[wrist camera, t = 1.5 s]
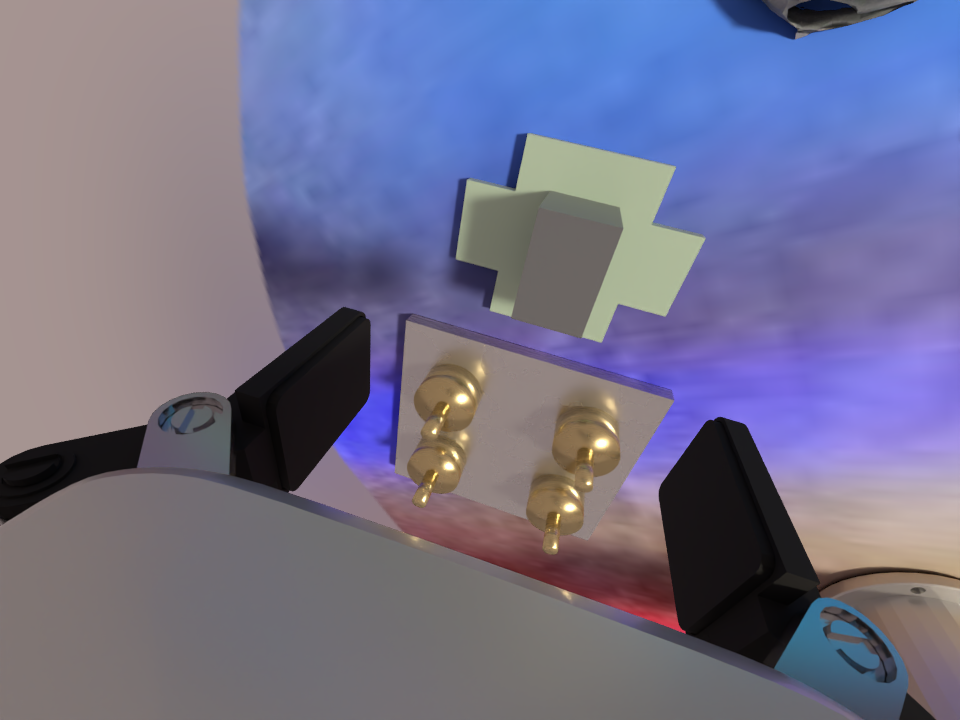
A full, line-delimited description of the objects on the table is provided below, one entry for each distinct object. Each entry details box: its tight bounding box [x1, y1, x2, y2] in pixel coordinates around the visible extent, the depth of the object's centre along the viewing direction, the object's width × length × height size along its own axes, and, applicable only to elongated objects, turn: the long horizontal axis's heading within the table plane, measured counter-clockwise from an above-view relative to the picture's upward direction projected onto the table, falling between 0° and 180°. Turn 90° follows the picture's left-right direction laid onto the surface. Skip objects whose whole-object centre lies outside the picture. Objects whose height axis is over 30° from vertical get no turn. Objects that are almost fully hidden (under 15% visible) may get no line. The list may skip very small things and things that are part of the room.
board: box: [456, 133, 706, 343], centre depth 22 cm, size 14×11×6 cm
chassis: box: [395, 314, 674, 555], centre depth 31 cm, size 20×18×7 cm
